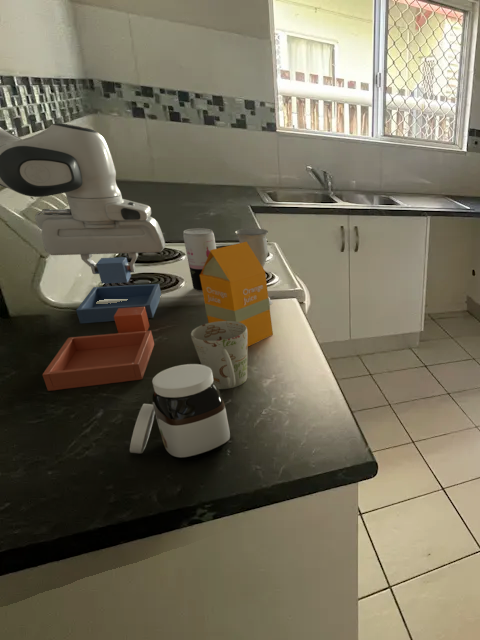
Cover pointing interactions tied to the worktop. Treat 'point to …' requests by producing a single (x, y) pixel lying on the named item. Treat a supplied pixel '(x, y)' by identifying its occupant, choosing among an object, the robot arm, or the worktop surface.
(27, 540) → the worktop surface
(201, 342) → the mug
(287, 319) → the worktop surface
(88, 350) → the rust tray
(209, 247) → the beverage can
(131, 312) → the rust block
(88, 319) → the blue tray
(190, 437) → the spread jar
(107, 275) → the blue block
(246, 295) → the orange juice
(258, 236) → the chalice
